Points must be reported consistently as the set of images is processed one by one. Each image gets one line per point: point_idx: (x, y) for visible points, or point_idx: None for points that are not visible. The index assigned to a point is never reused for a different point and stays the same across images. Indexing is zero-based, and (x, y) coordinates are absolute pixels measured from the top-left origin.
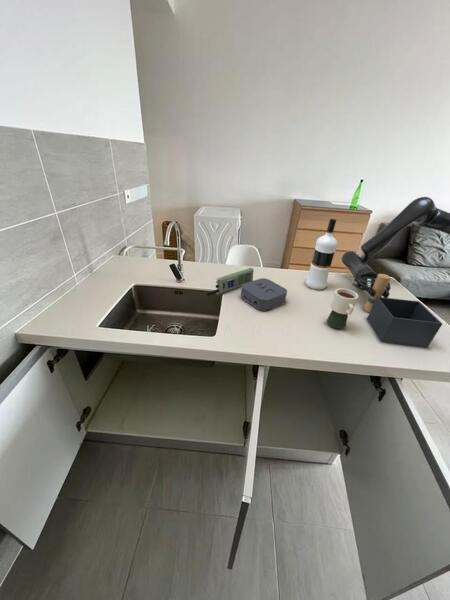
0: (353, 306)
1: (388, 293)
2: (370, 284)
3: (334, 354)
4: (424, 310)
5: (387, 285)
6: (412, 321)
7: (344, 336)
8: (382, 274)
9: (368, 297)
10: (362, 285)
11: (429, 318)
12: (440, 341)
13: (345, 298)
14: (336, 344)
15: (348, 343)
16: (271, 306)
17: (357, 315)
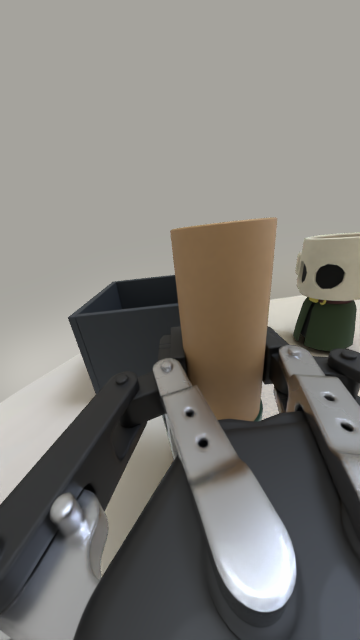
0: (300, 252)
1: (173, 327)
2: (294, 376)
3: (285, 301)
4: (98, 304)
5: (105, 417)
6: (171, 278)
7: (284, 324)
8: (232, 221)
9: (260, 402)
10: (356, 357)
11: (109, 300)
12: (75, 360)
13: (331, 236)
14: (290, 311)
15: (271, 316)
16: None
17: (274, 398)
